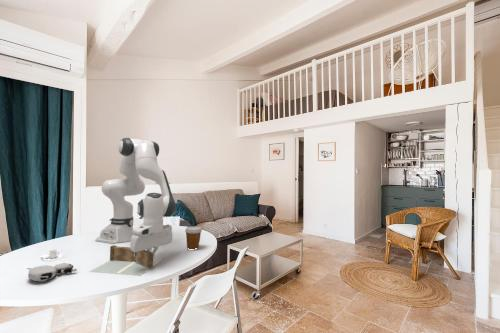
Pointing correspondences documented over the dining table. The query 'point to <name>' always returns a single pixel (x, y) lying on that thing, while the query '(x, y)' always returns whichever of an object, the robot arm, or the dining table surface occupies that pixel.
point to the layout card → (124, 267)
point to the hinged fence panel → (144, 258)
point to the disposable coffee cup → (193, 237)
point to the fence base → (122, 254)
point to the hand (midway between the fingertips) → (152, 256)
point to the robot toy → (49, 271)
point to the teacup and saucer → (51, 255)
